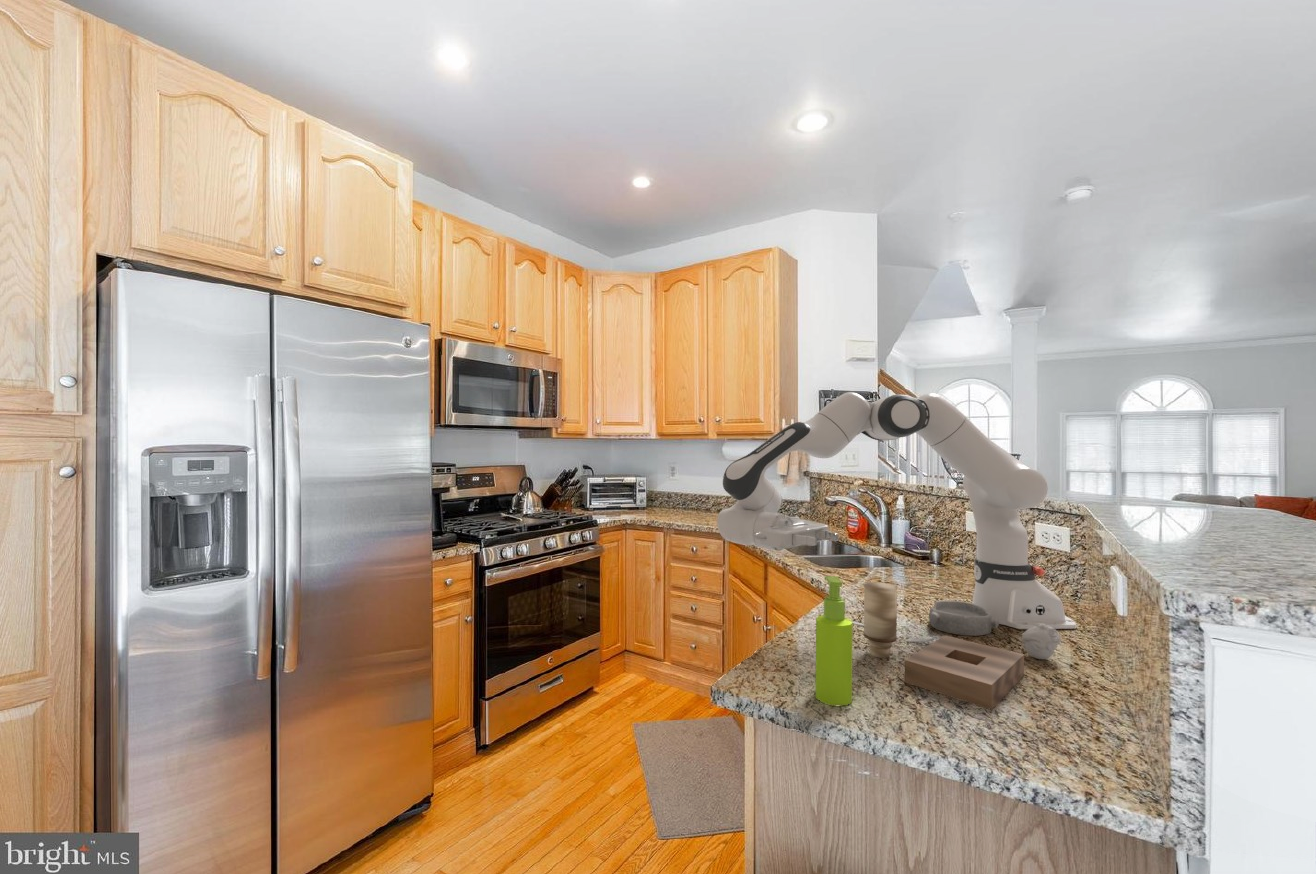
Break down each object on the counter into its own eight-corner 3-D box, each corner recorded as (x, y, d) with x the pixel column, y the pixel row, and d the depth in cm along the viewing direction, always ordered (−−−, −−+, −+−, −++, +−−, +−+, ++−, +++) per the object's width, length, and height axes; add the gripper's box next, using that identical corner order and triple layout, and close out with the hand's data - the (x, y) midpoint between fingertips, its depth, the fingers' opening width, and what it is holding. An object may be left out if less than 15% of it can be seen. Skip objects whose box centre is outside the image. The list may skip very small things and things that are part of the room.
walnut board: (944, 654, 114) (944, 635, 114) (1024, 675, 104) (1024, 654, 104) (904, 682, 100) (904, 660, 100) (991, 709, 90) (991, 685, 90)
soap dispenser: (845, 688, 97) (846, 574, 97) (855, 707, 90) (856, 584, 90) (811, 686, 97) (812, 573, 98) (818, 705, 90) (820, 582, 91)
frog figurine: (1068, 664, 110) (1068, 629, 110) (1034, 664, 109) (1034, 629, 109) (1045, 652, 116) (1045, 619, 116) (1013, 653, 115) (1013, 619, 115)
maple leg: (891, 649, 116) (891, 583, 116) (900, 661, 110) (901, 590, 110) (860, 648, 117) (860, 581, 117) (868, 659, 110) (868, 589, 111)
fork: (839, 617, 139) (839, 610, 139) (934, 646, 120) (935, 638, 120) (831, 619, 137) (831, 612, 137) (927, 649, 118) (927, 641, 118)
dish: (932, 634, 127) (932, 612, 127) (922, 617, 140) (922, 597, 140) (1004, 642, 122) (1004, 619, 122) (986, 623, 136) (986, 602, 136)
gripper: (748, 521, 125) (801, 529, 115) (797, 515, 139) (848, 521, 129) (747, 549, 125) (801, 559, 115) (797, 540, 139) (848, 548, 129)
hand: (826, 539), depth 122 cm, fingers open, 8 cm apart
